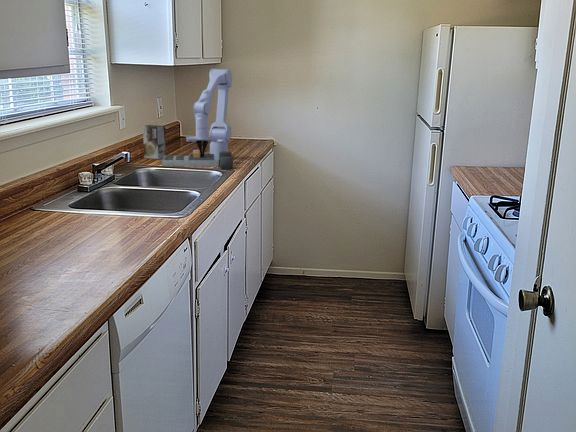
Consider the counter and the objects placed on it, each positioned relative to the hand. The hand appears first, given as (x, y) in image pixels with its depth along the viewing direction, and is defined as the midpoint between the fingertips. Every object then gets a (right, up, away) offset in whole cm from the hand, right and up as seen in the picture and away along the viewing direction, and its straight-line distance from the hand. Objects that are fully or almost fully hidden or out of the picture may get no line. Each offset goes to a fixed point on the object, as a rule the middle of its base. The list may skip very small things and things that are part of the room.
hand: (202, 156), depth 273 cm
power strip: (-6, -3, +3) cm, 7 cm away
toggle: (-3, -1, 0) cm, 3 cm away
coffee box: (-27, +1, +18) cm, 32 cm away
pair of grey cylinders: (+11, -4, +2) cm, 12 cm away
